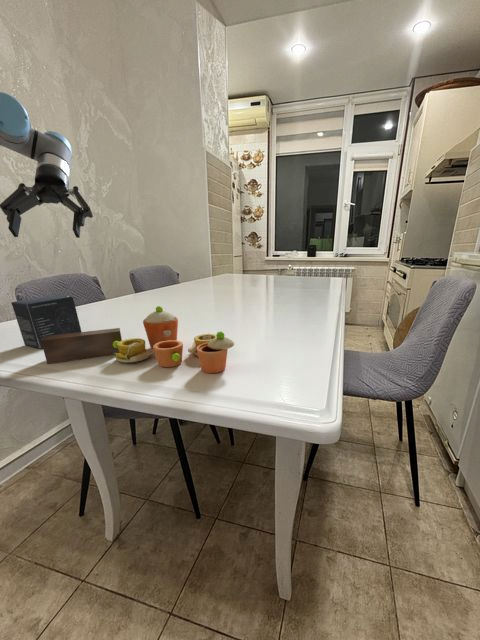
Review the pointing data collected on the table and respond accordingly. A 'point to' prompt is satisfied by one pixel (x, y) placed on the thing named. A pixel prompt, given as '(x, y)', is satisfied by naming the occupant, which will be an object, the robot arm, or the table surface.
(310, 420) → the table surface
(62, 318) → the box
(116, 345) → the toy tea set
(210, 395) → the table surface
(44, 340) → the block
